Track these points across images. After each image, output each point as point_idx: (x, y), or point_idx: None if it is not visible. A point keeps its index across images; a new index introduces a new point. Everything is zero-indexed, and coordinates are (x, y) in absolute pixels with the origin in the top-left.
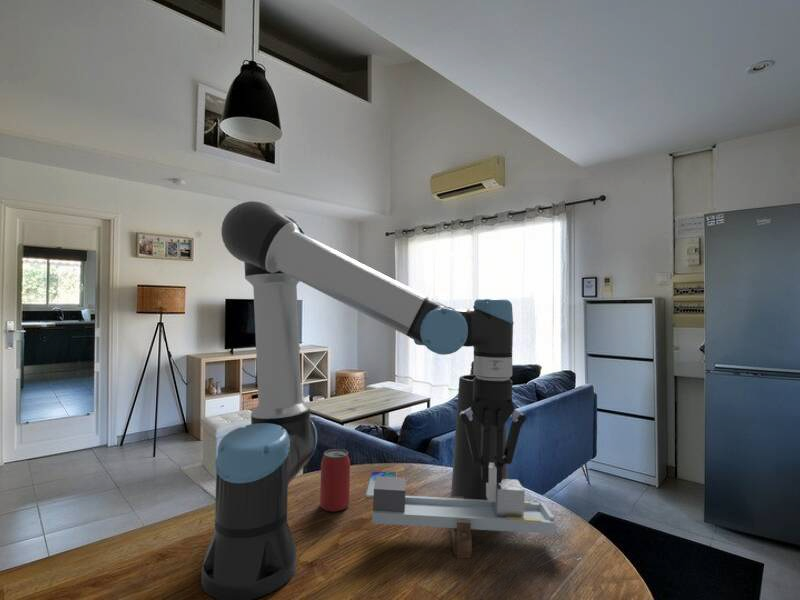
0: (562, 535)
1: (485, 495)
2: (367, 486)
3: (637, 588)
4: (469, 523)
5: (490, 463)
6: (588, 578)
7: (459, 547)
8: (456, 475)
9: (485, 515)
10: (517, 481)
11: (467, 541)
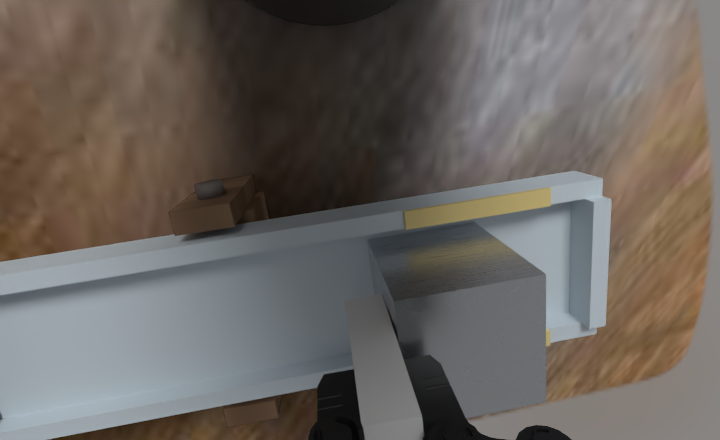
0: (599, 153)
1: (346, 6)
2: None
3: (679, 358)
4: (273, 417)
5: (393, 436)
6: (584, 349)
7: None
8: None
9: (337, 306)
10: (537, 301)
11: None
